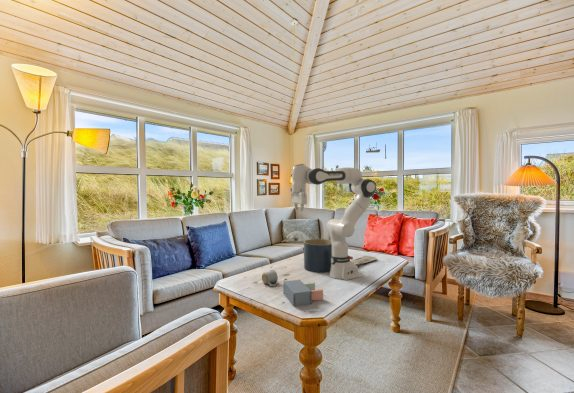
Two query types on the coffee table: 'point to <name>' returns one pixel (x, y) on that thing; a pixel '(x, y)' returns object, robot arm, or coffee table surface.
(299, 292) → the grey rectangular block
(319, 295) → the pink stick
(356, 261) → the newspaper
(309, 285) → the mint green upright slab
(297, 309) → the coffee table surface
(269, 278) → the ceramic mug
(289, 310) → the coffee table surface
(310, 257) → the planter
